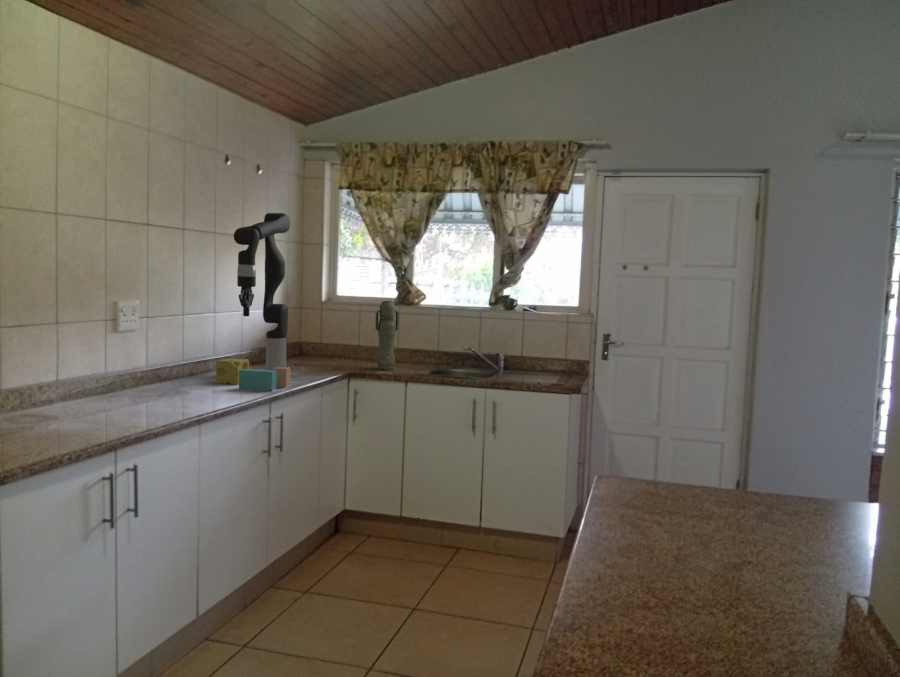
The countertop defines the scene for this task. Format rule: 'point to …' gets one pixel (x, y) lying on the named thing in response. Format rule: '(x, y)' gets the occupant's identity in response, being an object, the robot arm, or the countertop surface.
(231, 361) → the cheese
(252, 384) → the teal brick
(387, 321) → the thermos
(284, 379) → the terracotta block
